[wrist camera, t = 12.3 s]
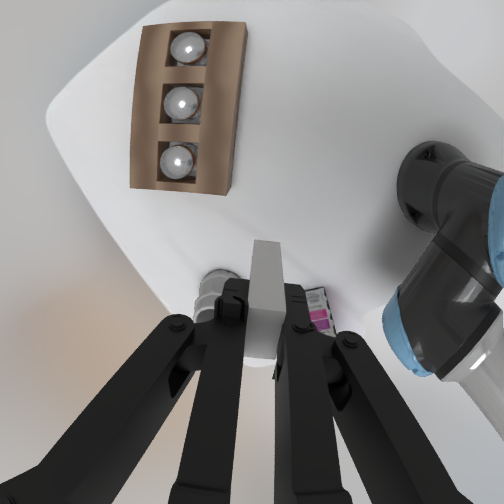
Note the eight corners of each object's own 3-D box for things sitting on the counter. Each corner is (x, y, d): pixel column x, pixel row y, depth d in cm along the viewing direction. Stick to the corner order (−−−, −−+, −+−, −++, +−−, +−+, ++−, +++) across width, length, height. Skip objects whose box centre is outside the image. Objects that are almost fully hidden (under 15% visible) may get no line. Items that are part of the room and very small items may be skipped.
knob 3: (201, 144, 39) (193, 146, 34) (199, 173, 41) (191, 180, 36) (172, 142, 39) (160, 145, 34) (170, 171, 41) (159, 178, 36)
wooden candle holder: (247, 33, 31) (245, 22, 27) (230, 187, 42) (226, 195, 37) (155, 34, 31) (143, 26, 27) (143, 180, 42) (129, 188, 37)
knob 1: (212, 41, 32) (206, 31, 27) (209, 68, 34) (201, 61, 29) (182, 41, 32) (172, 32, 27) (179, 68, 34) (168, 62, 29)
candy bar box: (296, 291, 49) (305, 360, 34) (324, 285, 48) (343, 353, 33) (305, 337, 54) (314, 405, 39) (330, 332, 53) (345, 399, 38)
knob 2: (206, 90, 35) (198, 86, 31) (203, 120, 37) (195, 120, 33) (176, 90, 35) (165, 86, 31) (173, 119, 37) (162, 119, 33)
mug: (207, 262, 47) (190, 304, 36) (273, 284, 49) (275, 330, 38) (196, 297, 51) (180, 342, 40) (258, 316, 52) (256, 364, 41)
